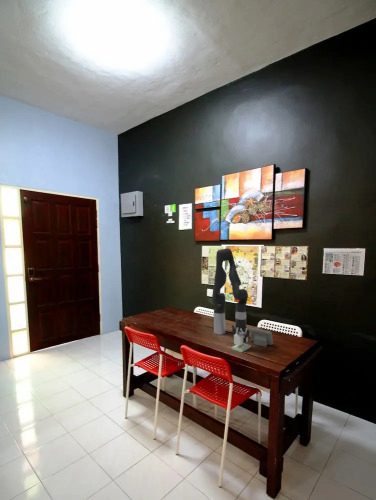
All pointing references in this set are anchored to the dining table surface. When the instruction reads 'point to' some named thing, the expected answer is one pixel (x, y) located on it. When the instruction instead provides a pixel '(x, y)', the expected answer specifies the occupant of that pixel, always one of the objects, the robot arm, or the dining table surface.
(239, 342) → the plug housing
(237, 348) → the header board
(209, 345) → the dining table surface
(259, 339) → the digital clock
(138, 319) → the dining table surface
